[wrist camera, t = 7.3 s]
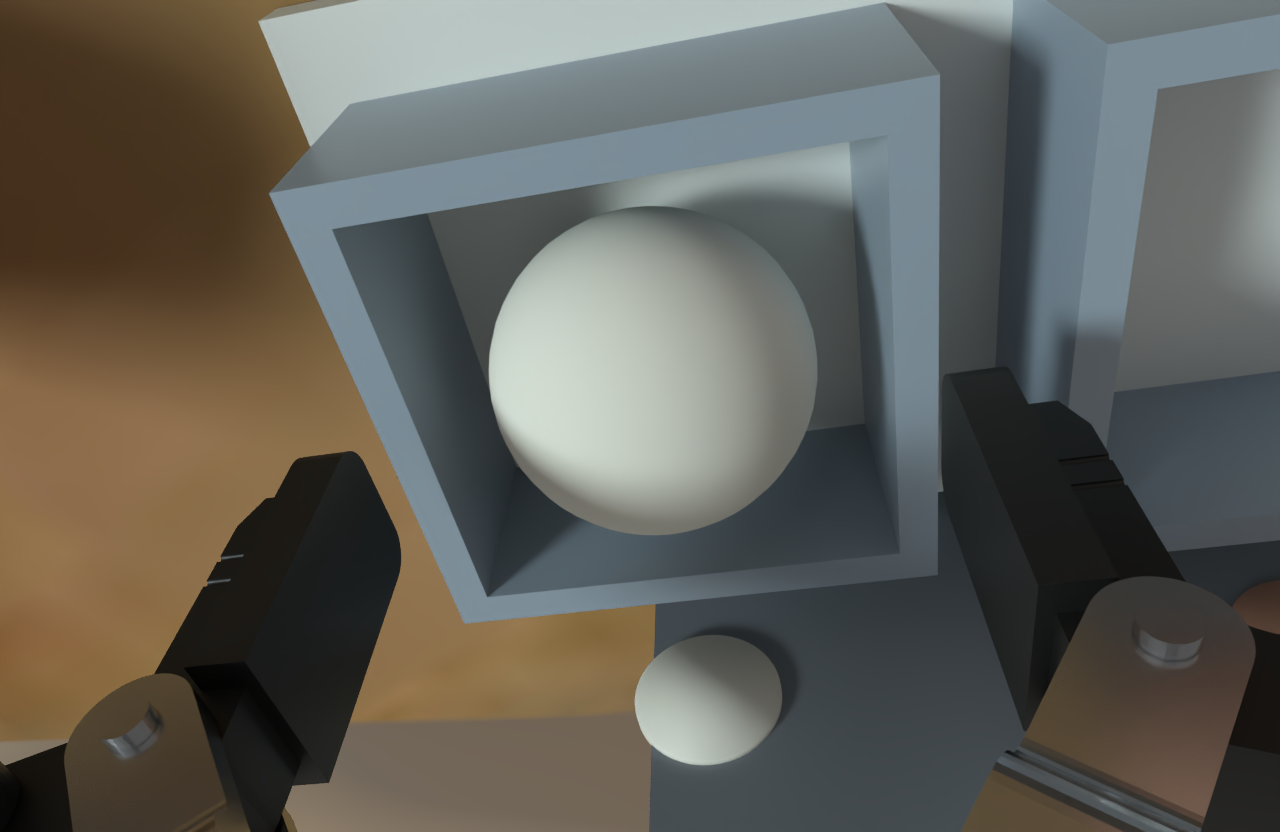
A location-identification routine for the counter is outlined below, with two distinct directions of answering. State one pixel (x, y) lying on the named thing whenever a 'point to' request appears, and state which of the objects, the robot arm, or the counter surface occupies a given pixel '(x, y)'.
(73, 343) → the counter surface
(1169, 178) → the rack
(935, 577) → the card
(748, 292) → the cream ball
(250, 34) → the counter surface
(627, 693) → the counter surface
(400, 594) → the counter surface
